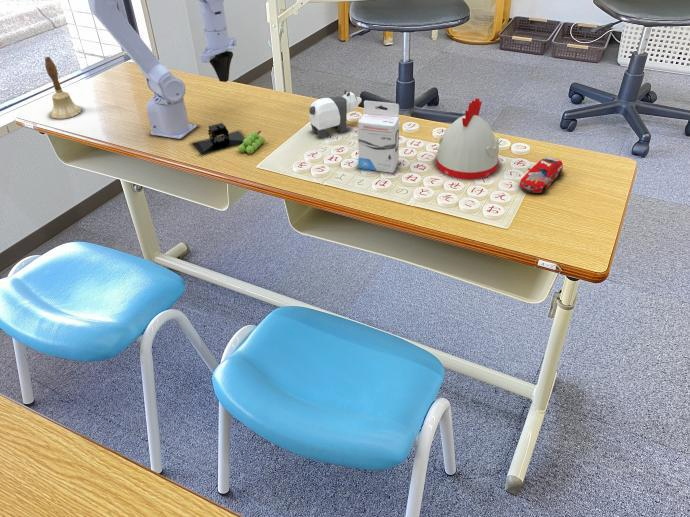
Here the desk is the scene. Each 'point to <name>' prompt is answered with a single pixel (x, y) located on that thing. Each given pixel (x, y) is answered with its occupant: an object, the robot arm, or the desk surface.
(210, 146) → the build plate
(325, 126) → the giant panda
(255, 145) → the grapes
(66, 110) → the hand bell
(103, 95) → the desk surface
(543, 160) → the race car
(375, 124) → the ink box
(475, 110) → the white and red dome
